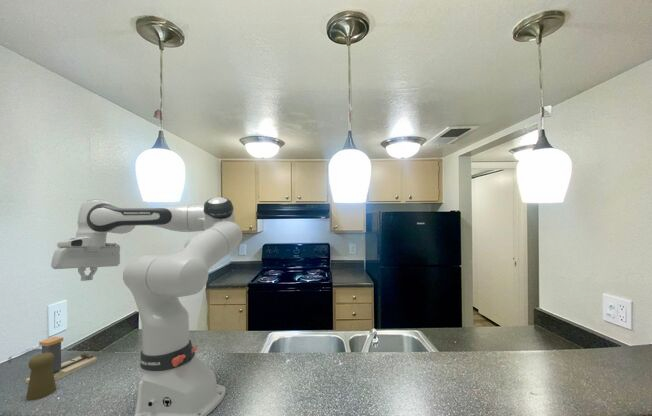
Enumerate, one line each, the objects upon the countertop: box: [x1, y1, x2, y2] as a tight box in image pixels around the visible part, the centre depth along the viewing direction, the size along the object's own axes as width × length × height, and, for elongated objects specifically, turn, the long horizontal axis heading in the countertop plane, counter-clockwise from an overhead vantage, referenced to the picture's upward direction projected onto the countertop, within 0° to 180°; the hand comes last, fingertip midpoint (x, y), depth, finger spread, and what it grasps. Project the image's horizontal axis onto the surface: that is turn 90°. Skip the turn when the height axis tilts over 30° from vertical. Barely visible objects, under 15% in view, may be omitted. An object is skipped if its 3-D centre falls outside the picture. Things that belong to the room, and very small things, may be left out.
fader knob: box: [39, 336, 64, 373], centre depth 88 cm, size 4×4×10 cm
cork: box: [25, 352, 57, 402], centre depth 79 cm, size 6×6×11 cm
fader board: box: [25, 352, 98, 385], centre depth 90 cm, size 8×15×2 cm, turn 164°
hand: (86, 280), depth 100 cm, fingers closed
